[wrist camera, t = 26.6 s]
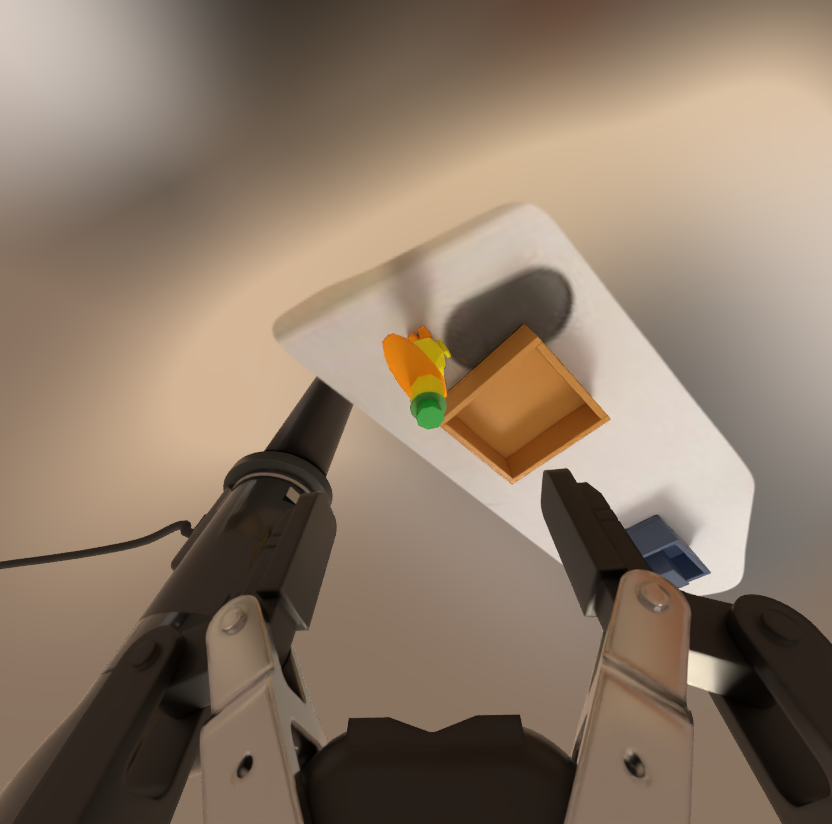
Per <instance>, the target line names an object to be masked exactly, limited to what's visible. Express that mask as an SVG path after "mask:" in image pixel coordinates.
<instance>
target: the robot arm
mask: <svg viewBox="0 0 832 824" xmlns="http://www.w3.org/2000/svg"><path fill="white" fill-rule="evenodd" d="M541 509H542V513H543V517H544V519H545V522H546V524H547V527H548V529H549V532H550V534H551V536H552V539H553V541H554V544H555V546H556V548H557V551H558V553H559V556H560V558H561V561H562V563H563V565H564V568H565V570H566V573H567V575H568V577H569V580H570V582H571V585H572V587H573V589H574V592H575V594H576V597H577V599H578V602H579V604H580V607H581V609H582V611H583V614H584V616H585V617H598V619H599V621H600V624H601V626H602V628H603V632H602V636H601V640H600V644H599V648H598V652H597V656H596V660H595V665H594V668H593V672H592V677H591V680H590V684H589V688H588V692H587V696H586V700H585V704H584V707H583V711H582V714H581V718H580V721H579V725H578V729H577V733H576V737H575V740H574V745H573V748H572V752H571V757H569V756H568V755H567V754H566V753H565V752H564V751H563V750H562V749H560V748H559V747H558V746H557V745H556V744H554V743H553V742H552V741H550V740H549V739H547V738H546V737H544V736H543V735H541V734H539V733H537V732H535V731H533V730H531V729H528V728H525V727H522V723H521V718H520V715H481V716H480V715H478V716H474V717H471V718H469V719H466V720H464V721H462V722H459V723H457V724H454V725H451V726H449V727H446V728H444V729H441V730H439V731H436V732H428V731H425V730H422V729H419V728H417V727H414V726H411V725H409V724H406V723H403V722H400V721H398V720H395V719H392V718H389V717H386V718H385V717H384V718H349V721H348V728H347V732H345V733H343V734H341V735H339V736H338V737H336V738H334V739H333V740H331V741H330V742H329V743H328V741H327V738H326V735H325V732H324V730H323V727H322V725H321V723H320V721H319V719H318V717H317V715H316V713H315V711H314V709H313V706H312V704H311V701H310V698H309V694H308V691H307V688H306V684H305V681H304V678H303V675H302V672H301V668H300V665H299V662H298V659H297V655H296V652H295V649H294V646H293V644H292V641H293V638H294V635H295V631H298V630H299V631H300V630H309V626H310V623H311V619H312V616H313V613H314V609H315V606H316V602H317V599H318V595H319V592H320V588H321V585H322V581H323V578H324V574H325V571H326V567H327V563H328V560H329V557H330V553H331V549H332V546H333V543H334V539H335V536H336V519H335V516H334V514H333V512H332V509H331V507H330V505H329V502H328V500H327V498H326V496H325V494H324V493H323V492H314V491H313V490H312V489H311V487H310V486H309V485H308V484H306V483H305V482H304V481H303V480H301V479H299V478H298V477H296V476H294V475H292V474H289V473H286V472H283V471H279V470H273V469H260V470H254V471H251V472H248V473H246V474H245V475H243V476H242V477H241V478H240V479H239V480H238V481H237V483H235V484H230V485H228V487H227V488H226V489H225V491H224V492H223V493H222V495H221V496H220V497H219V499H218V500H217V502H216V503H215V504H214V505H213V507H212V508H211V510H210V511H209V512H208V513H207V514H205V515H204V516H203V518H202V519H201V520H200V522H199V523H198V524H197V526H196V527H195V528H194V529H192V528H191V523H190V522H188V521H178V522H175V523H173V524H171V525H169V526H167V527H165V528H163V529H161V530H159V531H157V532H155V533H153V534H151V535H148V536H145V537H143V538H140V539H136V540H132V541H128V542H124V543H119V544H113V545H108V546H103V547H97V548H92V549H86V550H80V551H74V552H67V553H60V554H54V555H46V556H39V557H32V558H24V559H16V560H9V561H3V562H0V569H4V568H12V567H19V566H26V565H34V564H42V563H50V562H57V561H63V560H70V559H77V558H83V557H90V556H96V555H101V554H107V553H112V552H118V551H123V550H127V549H132V548H136V547H139V546H143V545H146V544H149V543H151V542H154V541H156V540H158V539H160V538H162V537H164V536H166V535H168V534H170V533H172V532H174V531H177V530H179V529H180V531H181V534H182V535H183V536H185V537H187V538H189V539H188V540H187V541H186V543H185V544H184V545H183V547H182V548H181V549H180V551H179V552H178V554H177V555H176V556H175V558H174V559H173V561H172V562H171V569H172V570H173V571H174V572H173V574H172V575H171V576H170V578H169V579H168V581H167V582H166V583H165V585H164V586H163V588H162V589H161V590H160V592H159V593H158V594H157V596H156V597H155V599H154V600H153V601H152V603H151V604H150V606H149V607H148V608H147V610H146V611H145V613H144V614H143V615H142V617H141V618H140V620H139V621H138V623H137V624H136V625H135V627H134V628H133V630H132V631H131V632H130V634H129V635H128V637H127V638H126V639H125V641H124V642H123V644H122V645H121V646H120V648H119V649H118V650H117V652H116V653H115V655H114V656H113V658H112V659H111V660H110V662H109V663H108V664H107V666H106V667H105V669H104V670H103V671H102V673H101V674H100V676H99V677H98V678H97V679H96V681H95V682H94V683H93V685H92V686H91V688H90V689H89V690H88V692H87V693H86V694H85V696H84V697H83V698H82V700H81V701H80V703H79V704H78V705H77V706H76V707H75V708H74V710H73V711H72V712H71V713H70V714H69V715H68V716H67V717H66V718H65V719H64V720H63V721H62V722H61V724H60V725H59V726H58V727H57V728H56V729H55V730H54V731H53V732H52V733H51V734H50V735H49V736H48V737H47V738H46V739H45V740H44V741H43V743H42V744H41V745H40V746H39V747H38V748H37V749H36V750H35V751H34V752H33V754H32V755H31V756H30V757H29V758H28V759H27V761H26V762H25V763H24V764H23V765H22V766H21V768H20V769H19V770H18V771H17V773H16V774H15V775H14V776H13V778H12V779H11V780H10V782H9V783H8V784H7V785H6V787H5V788H4V789H3V790H2V792H1V793H0V824H170V822H171V820H172V817H173V814H174V812H175V809H176V807H177V804H178V802H179V799H180V797H181V794H182V792H183V789H184V787H185V784H186V781H187V779H188V778H191V777H194V776H197V775H200V774H201V776H202V777H201V778H202V797H203V798H202V799H203V819H204V824H690V816H691V815H690V814H691V791H692V766H693V741H694V725H693V717H692V713H691V711H690V710H688V708H687V703H686V693H687V684H689V685H692V686H695V687H698V688H701V689H704V690H707V691H708V692H709V694H710V696H711V698H712V699H713V701H714V703H715V705H716V707H717V708H718V710H719V712H720V714H721V715H722V717H723V719H724V720H725V723H726V725H727V726H728V728H729V730H730V732H731V733H732V735H733V737H734V739H735V741H736V742H737V744H738V746H739V748H740V749H741V751H742V753H743V755H744V757H745V758H746V760H747V762H748V764H749V765H750V767H751V769H752V771H753V773H754V774H755V776H756V778H757V780H758V782H759V783H760V785H761V787H762V789H763V790H764V792H765V794H766V796H767V797H768V799H769V801H770V803H771V804H772V807H773V808H774V810H775V812H776V814H777V815H778V817H779V819H780V821H781V823H782V824H832V644H831V643H830V642H829V640H828V639H827V638H826V637H825V636H824V635H823V634H822V633H821V632H820V631H819V630H818V628H816V627H815V626H814V625H813V624H812V623H811V622H810V621H809V620H808V619H807V618H806V617H804V616H803V615H802V614H800V613H799V612H797V611H796V610H794V609H793V608H791V607H789V606H788V605H785V604H784V603H782V602H779V601H777V600H775V599H772V598H769V597H765V596H761V595H753V594H751V595H744V596H741V597H740V598H738V599H737V600H736V602H735V603H734V604H731V603H726V602H722V601H718V600H713V599H709V598H705V597H701V596H696V595H693V594H689V593H686V592H684V591H681V590H679V589H678V588H677V587H676V586H675V585H674V584H673V583H672V582H670V581H669V580H668V579H666V578H664V577H663V576H661V575H659V574H657V573H655V572H654V571H653V570H652V569H651V567H650V566H649V565H648V563H647V562H646V560H645V559H644V557H643V556H642V554H641V553H640V551H639V550H638V548H637V547H636V545H635V544H634V542H633V541H632V539H631V538H630V536H629V535H628V533H627V532H626V530H625V529H624V527H623V526H622V524H621V523H620V521H618V518H617V517H616V515H615V514H614V512H613V511H612V510H611V509H610V506H609V504H608V503H607V501H606V500H605V498H604V497H603V495H602V494H601V493H600V492H599V491H597V490H596V489H595V488H594V487H592V486H591V485H590V484H588V483H587V482H584V483H577V482H576V480H575V479H574V477H573V475H572V474H571V472H570V471H569V469H567V468H565V469H555V470H545V471H544V472H543V479H542V491H541Z"/></svg>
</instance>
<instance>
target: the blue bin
mask: <svg viewBox="0 0 832 824" xmlns="http://www.w3.org/2000/svg"><path fill="white" fill-rule="evenodd" d="M626 532H627V533H628V535H629V536H630V538H631V539H632V541H633V542H634V544H635V545H636V547H637V548H638V550H639V551H640V553H641V554H642V556H643V557H644V558H645V557H647V556H649V555H651V554H654V553H656V552H658V551H660V550H664V551H665V552H666V554H667V555H668V556H669V558H670V559H671V560H672V562H673V563H674V564H675V566H676V567H677V568H678V570H679V571H680V572H681V574H682V575H683V576H684V578H685V579H686V580H687V581H688V582H690V581H692V580H695V579H697V578H700V577H702V576H705V575H707V574H710V573H711V572H710V571H709V570H708V569H707V567H706V566H705V565H704V564H703V563H702V561H701V560H700V559H699V558H698V557H697V556H696V554H695V553H694V552H693V551H692V550H691V548H690V547H689V546H688V545H687V544H686V543H685V542H684V541H683V540H682V539H681V538H680V537H679V536H678V535H677V534H676V533H675V532H674V531H673V530H672V529H671V528H670V527H669V526H668V525H667V524H666V523H665V522H664V521H663V520H662V519H661V518H660V516H659V515H655V516H653V517H651V518H649V519H647V520H645V521H643V522H641V523H639V524H637V525H635V526H633V527H631V528H629V529H627V530H626Z"/></svg>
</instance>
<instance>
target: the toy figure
mask: <svg viewBox="0 0 832 824" xmlns="http://www.w3.org/2000/svg"><path fill="white" fill-rule="evenodd" d="M418 333H419V337H420V338H419V337H418V336H417V335H415V334H413V333H411V334H410V335H409V336H408V339H409V340H408V339H407V338H404V337H401V336H399V335H396V334H393V333H392V334H390V335H388V336H387V337H386V338H385V339H384V340H383V341H382V343H383V349H384V355H385V359H386V361H387V364H388V366H389V369H390V371H391V372H392V374H393V375H394V377H395V379H396V380H397V382H398V383H399V385H400V386H401V388H402V389H403V390H404V391H405V392H406V394H407V395H408V396H409V397H410V402H411V406H410V410H411V413H412V415H413V416H414V417H415V418H416V419H417V422H418V425H419V426H421V427H424V428H426V429H432V428H436V427H439V426H440V424H441V423H442V422H443V421H444V413H445V412H446V409H447V404H446V400H445V397H447V391H446V385H445V380H444V368H445V366H446V364H445V358H444V355H445V356H446V357H448V358H450V356H451V355H450V352H449V350H448V349H447V347H446V346H445V345H444V344H443V342H442V341H441V340H440V339H439V338H438V342H439V343H438V342H436V341H434V340H433V339H432V336H431V334H430V332H429V331H428V330H427V329H426V328H424V327H423V326H422V327H420V328H419V329H418Z"/></svg>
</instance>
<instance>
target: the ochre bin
mask: <svg viewBox="0 0 832 824" xmlns="http://www.w3.org/2000/svg"><path fill="white" fill-rule="evenodd" d="M445 400H446V404H447V409H446V412H445V413H444V421H443V422H442V423H441V424H440V427H442V428H443V429H444V430H445V431H447V432H448V433H449V434H450V435H452V436H453V437H454V438H455V439H456V440H458V441H459V442H460V443H461V444H463V445H464V446H465V447H466V448H468V449H469V450H470V451H471V452H473V453H474V454H475V455H476V456H477V457H479V458H480V459H481V460H482V461H484V462H485V463H486V464H487V465H489V466H490V467H491V468H492V469H494V470H495V471H496V472H497V473H498V474H500V475H501V476H502V477H503V478H505V479H506V480H507V481H509V482H510V483H511V484H514V483H515V482H517V481H518V480H520V479H521V478H523V477H524V476H526V475H527V474H529V473H530V472H532V471H533V470H535V469H536V468H538V467H539V466H541V465H542V464H544V463H545V462H547V461H548V460H550V459H551V458H553V457H554V456H556V455H558V454H559V453H561V452H562V451H564V450H565V449H567V448H568V447H570V446H571V445H573V444H574V443H576V442H577V441H579V440H580V439H582V438H583V437H585V436H586V435H588V434H589V433H591V432H592V431H594V430H595V429H597V428H598V427H600V426H601V425H603V424H604V423H606V422H608V421H609V420H610V418H609V416H608V415H607V414H606V413H605V412H604V411H603V410H602V408H601V407H600V406H599V405H598V404H597V403H596V402H595V401H594V399H593V398H592V397H591V396H590V395H589V394H588V393H587V391H586V390H585V389H584V388H583V387H582V386H581V385H580V384H579V382H578V381H577V380H576V379H575V378H574V377H573V376H572V374H571V373H570V372H569V371H568V370H567V369H566V368H565V367H564V365H563V364H562V363H561V362H560V361H559V360H558V359H557V357H556V356H555V355H554V354H553V353H552V352H551V351H550V350H549V348H548V347H547V346H546V345H545V344H544V343H543V342H542V340H541V339H540V338H539V337H538V336H537V335H536V334H535V333H534V332H533V331H531V330H530V329H529V328H528V327H527V326H526V325H525V324H523V325H522V326H521V327H520V328H519V329H518V330H517V331H516V332H514V333H513V334H512V335H511V336H510V337H509V338H508V339H507V340H506V341H504V342H503V343H502V344H501V345H500V346H499V347H498V348H497V349H495V350H494V351H493V352H492V353H491V354H490V355H489V356H488V357H487V358H485V359H484V360H483V361H482V362H481V363H480V364H479V365H478V366H477V367H475V368H474V369H473V370H472V371H471V372H470V373H469V374H468V375H467V376H465V377H464V378H463V379H462V380H461V381H460V382H459V383H458V384H457V385H455V386H454V387H453V388H452V389H451V390H450V391H449V392H448V393H447V397H445Z"/></svg>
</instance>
